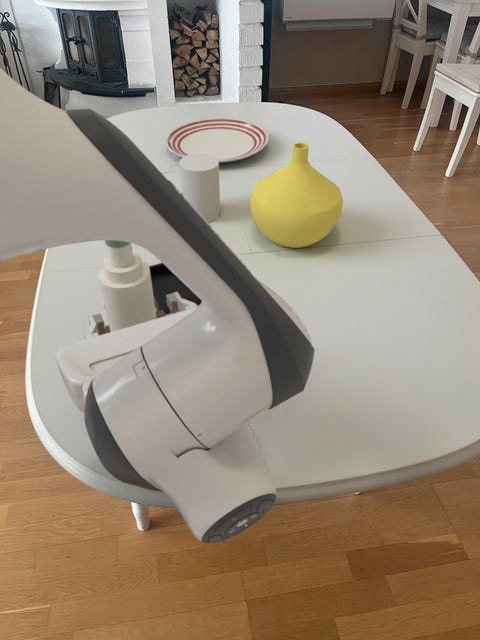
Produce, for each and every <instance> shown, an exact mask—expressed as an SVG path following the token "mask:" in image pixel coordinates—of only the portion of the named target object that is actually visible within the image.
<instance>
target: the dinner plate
mask: <svg viewBox="0 0 480 640" xmlns="http://www.w3.org/2000/svg"><path fill="white" fill-rule="evenodd" d="M269 137H270V136H269V134H268V132H267V130H266V129H265V128H264V127H262V126H260V125H259V124H257V123H254V122H251V121H249V120H244V119H239V118H231V117H212V118H211V117H209V118H203V119H197V120H193V121H189V122H186V123H183V124H180V125H179V126H176V127H174V128H173V129H172V130H171V131H170V132H168V133H167V135H166V137H165V142H164V143H165V146H166V148H167V149H168V151H170V152H171V153H172V154H174V155H176V156H178V157H180V158H183V157H185V156H188V155H191V154H208V155H212V156H214V157H216V158H217V159H218V160H219V164H220V163H229V162H235V161H240V160H243V159H247V158H249V157H252V156H254V155H256V154H257V153H259V152H261V151H262V150H263V149H264V148H265V147H266V146H267V145H268V143H269V140H270V139H269Z"/></svg>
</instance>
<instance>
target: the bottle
mask: <svg viewBox="0 0 480 640" xmlns="http://www.w3.org/2000/svg"><path fill="white" fill-rule="evenodd" d="M104 243H105V245H106V246H107V250H108V255H107V256H106V257H105V258H104V259H103V262H102V267H101V268H100V269H99V271H98V274H97V275H98V282H99V284H100V291H101V294H102V299H103V304H104V309H105V313H106V317H107V321H108V325H109V327H110V331H111V332H113V331H117V330H120V329H123V328H127V327H130V326H134V325H137V324H140V323H144V322H147V321H151V320H154V319H157V318H156V311H157V310H156V308H155V303H154V296H153V289H152V281H151V274H150V268H149V266H150V265H148V264H147V263H146V262H145V261H144V260H143V259H142V257H141V255H140V254H138V253H137V252H135V251H133V247H132V243H129V242H125V241H116V240H104Z"/></svg>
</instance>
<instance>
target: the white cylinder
mask: <svg viewBox="0 0 480 640" xmlns="http://www.w3.org/2000/svg"><path fill="white" fill-rule="evenodd" d="M178 165H179V166H178V168H179V179H180V192H181V193H182V194H183V195H184V196H185V198H186V199H187V200H188V201H189V202H190V203H191V204H192V206H194V207H195V209H196V210H197V211H198V213H200V214H201V215H202V216H203V218H204V219H205V220H206V221H207V223H208V224H210V223H212V222H215V221H216V220H218V219H219V218H220V216H221V195H220V194H221V193H220V192H221V191H220V190H221V189H220V163H219V160H218V159H217V158H216V157H214V156H212V155H208V154H191V155H188V156H185V157H181V158H180V160H179V161H178Z"/></svg>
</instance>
